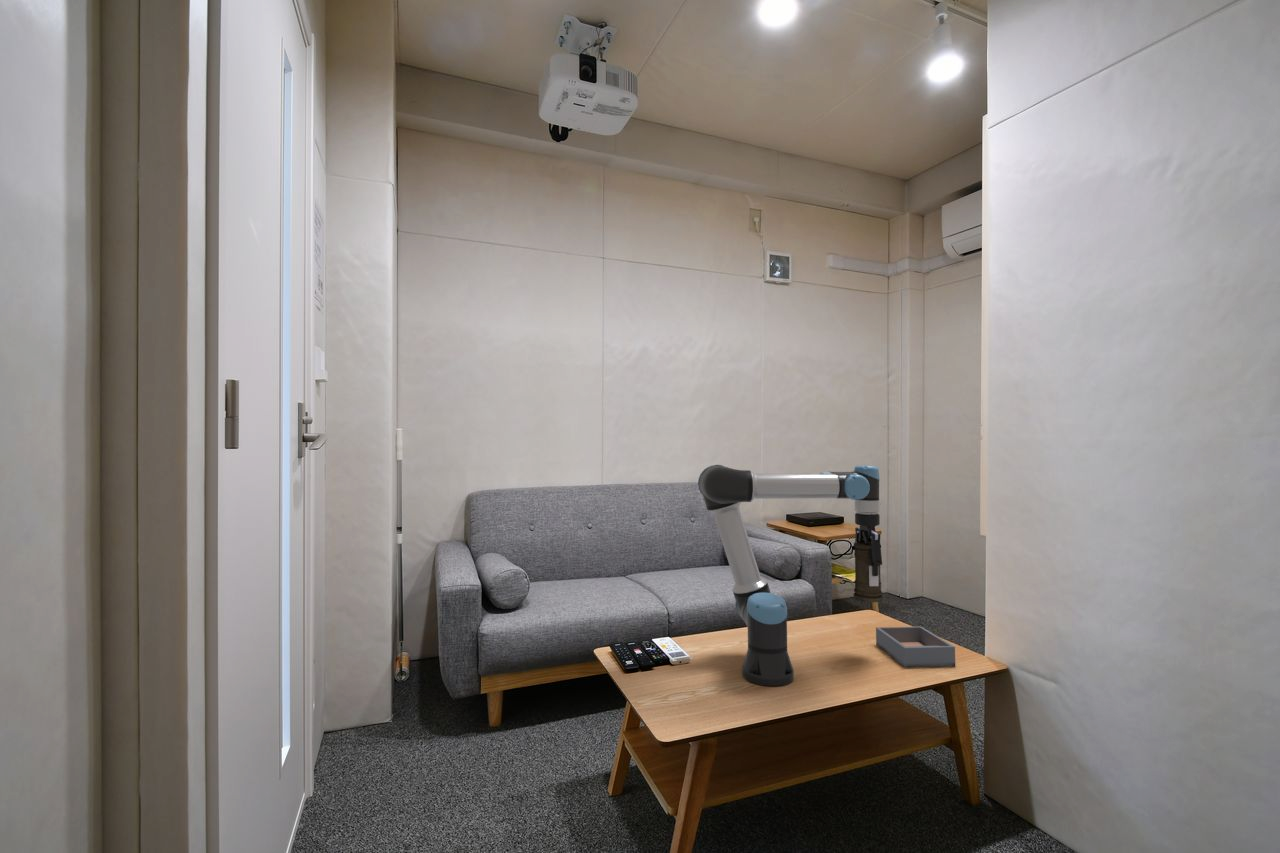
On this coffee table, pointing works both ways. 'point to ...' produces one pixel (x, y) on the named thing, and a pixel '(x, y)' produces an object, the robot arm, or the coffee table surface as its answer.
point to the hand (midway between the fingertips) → (867, 582)
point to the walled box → (915, 647)
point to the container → (865, 576)
